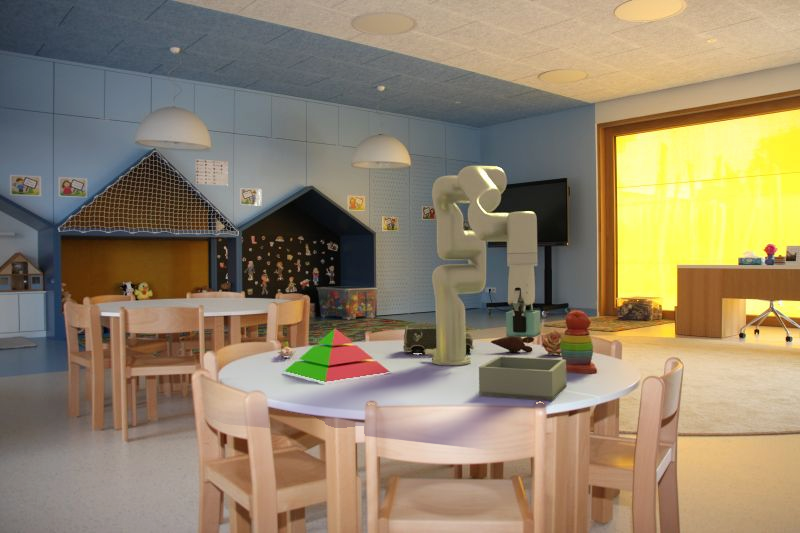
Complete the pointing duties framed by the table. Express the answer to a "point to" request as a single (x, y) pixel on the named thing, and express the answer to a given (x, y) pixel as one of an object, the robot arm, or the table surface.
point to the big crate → (522, 378)
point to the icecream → (514, 343)
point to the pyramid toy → (335, 360)
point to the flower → (552, 342)
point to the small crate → (531, 324)
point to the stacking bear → (577, 344)
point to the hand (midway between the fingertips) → (523, 330)
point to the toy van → (426, 338)
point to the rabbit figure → (286, 350)
